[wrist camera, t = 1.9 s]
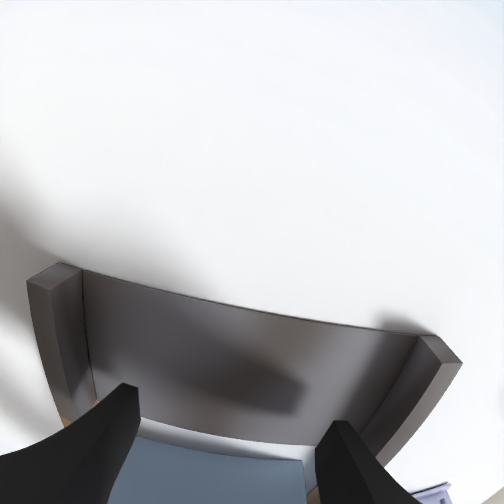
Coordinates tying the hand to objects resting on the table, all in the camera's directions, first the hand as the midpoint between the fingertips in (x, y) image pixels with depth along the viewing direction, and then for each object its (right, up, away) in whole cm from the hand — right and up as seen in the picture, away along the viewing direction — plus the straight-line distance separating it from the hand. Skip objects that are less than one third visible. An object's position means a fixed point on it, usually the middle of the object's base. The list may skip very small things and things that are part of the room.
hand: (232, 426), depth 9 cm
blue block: (-2, -7, +4) cm, 8 cm away
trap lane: (-3, -13, +5) cm, 14 cm away
